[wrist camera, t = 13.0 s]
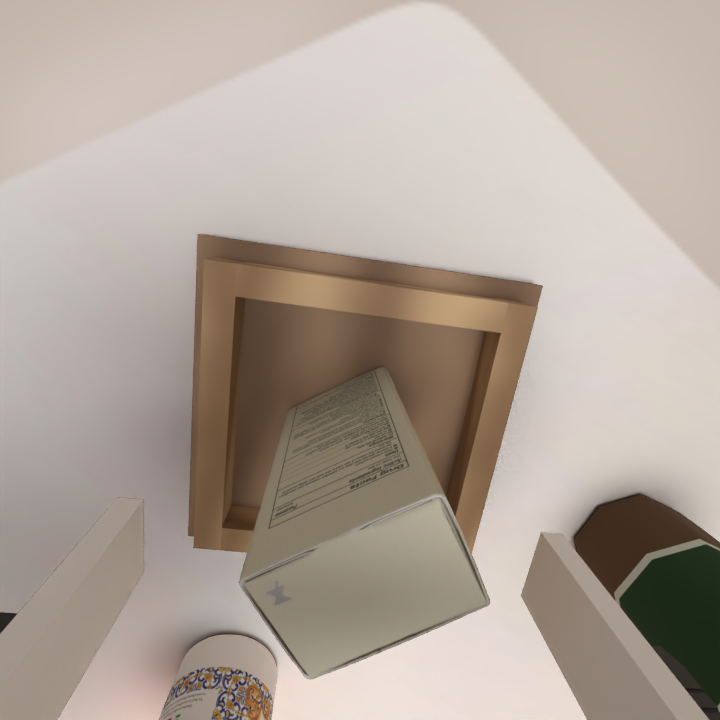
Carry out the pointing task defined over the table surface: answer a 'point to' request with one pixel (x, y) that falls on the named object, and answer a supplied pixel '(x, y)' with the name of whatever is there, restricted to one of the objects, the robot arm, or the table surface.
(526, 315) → the wooden tray
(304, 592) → the skincare box
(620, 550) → the beer bottle
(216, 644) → the bath foam
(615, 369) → the table surface
